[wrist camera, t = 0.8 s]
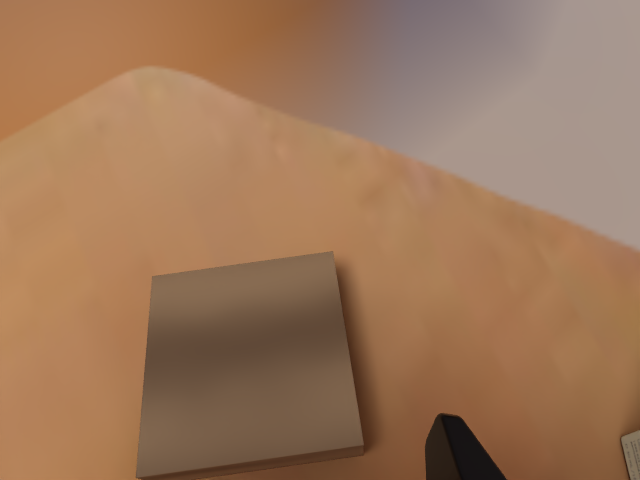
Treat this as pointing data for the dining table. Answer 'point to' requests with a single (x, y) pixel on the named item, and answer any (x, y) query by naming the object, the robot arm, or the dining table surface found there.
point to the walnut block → (246, 371)
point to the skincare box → (632, 453)
